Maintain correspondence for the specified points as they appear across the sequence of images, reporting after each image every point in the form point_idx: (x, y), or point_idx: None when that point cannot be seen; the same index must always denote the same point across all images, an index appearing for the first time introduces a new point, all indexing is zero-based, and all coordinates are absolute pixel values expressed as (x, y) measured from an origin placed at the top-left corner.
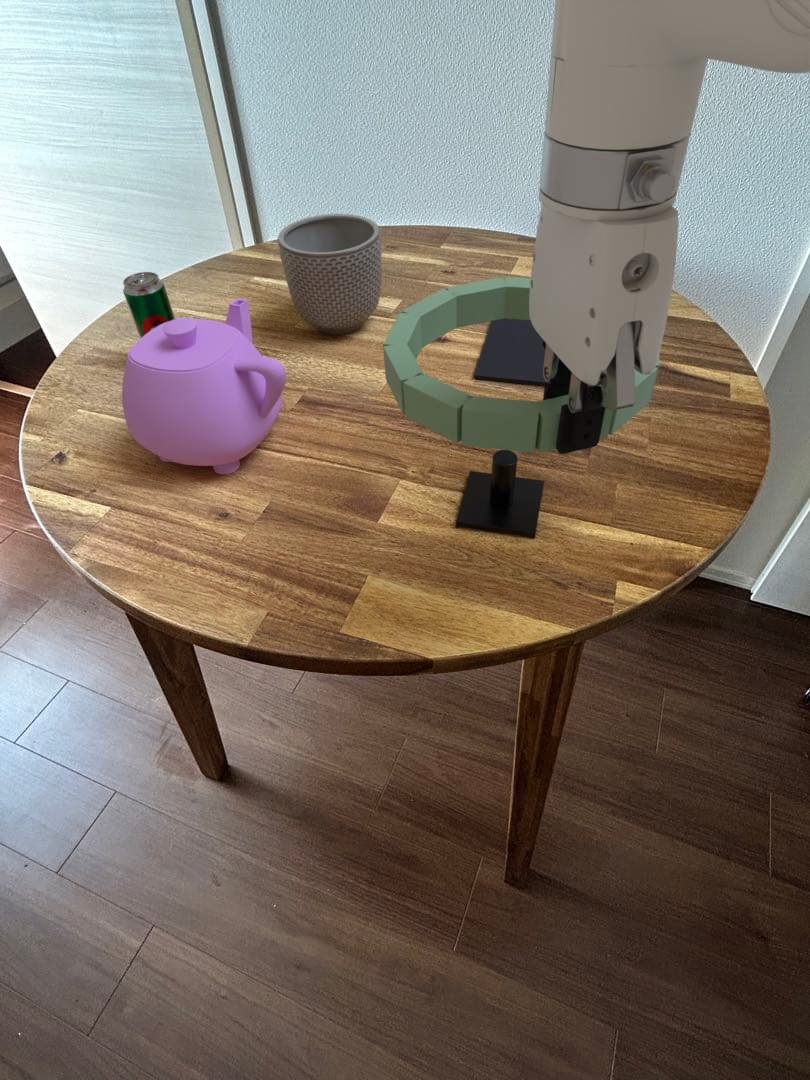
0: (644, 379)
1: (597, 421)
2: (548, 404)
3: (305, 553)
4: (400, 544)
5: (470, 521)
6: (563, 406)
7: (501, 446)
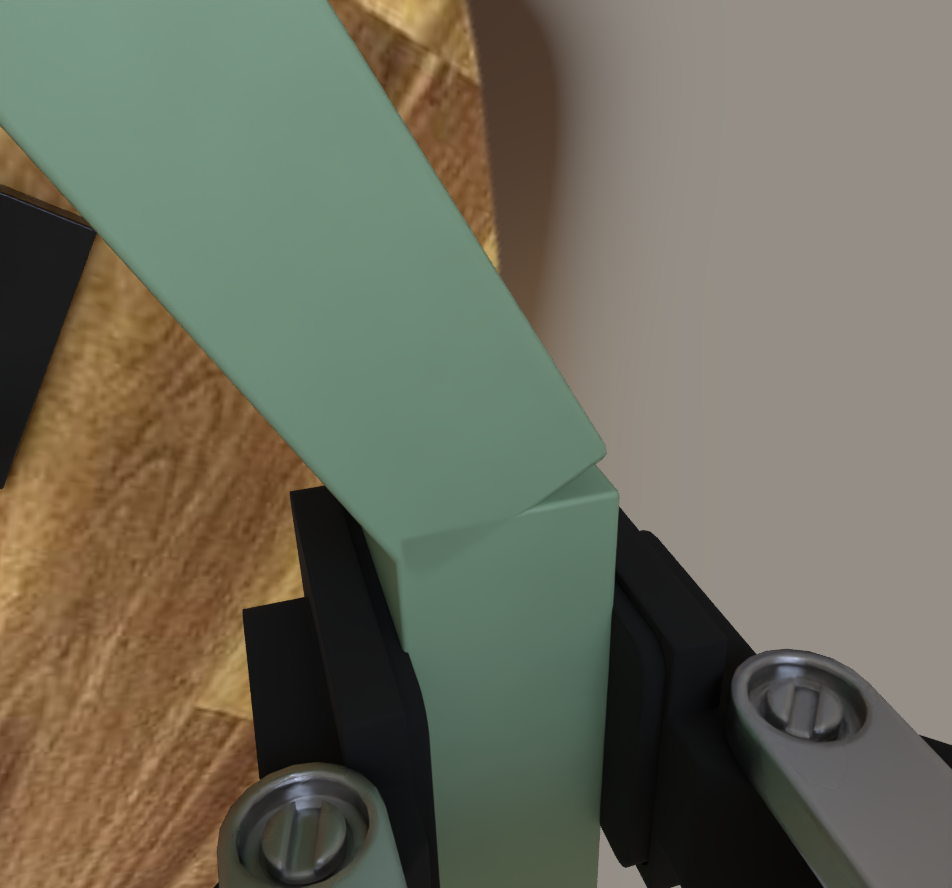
0: (374, 77)
1: (720, 622)
2: (488, 879)
3: (88, 844)
4: (78, 634)
5: (7, 443)
6: (660, 883)
7: None
